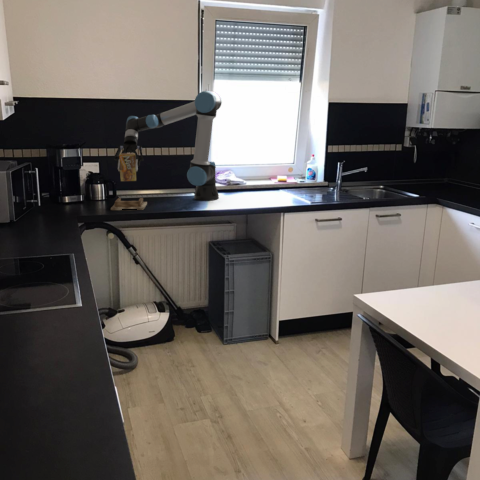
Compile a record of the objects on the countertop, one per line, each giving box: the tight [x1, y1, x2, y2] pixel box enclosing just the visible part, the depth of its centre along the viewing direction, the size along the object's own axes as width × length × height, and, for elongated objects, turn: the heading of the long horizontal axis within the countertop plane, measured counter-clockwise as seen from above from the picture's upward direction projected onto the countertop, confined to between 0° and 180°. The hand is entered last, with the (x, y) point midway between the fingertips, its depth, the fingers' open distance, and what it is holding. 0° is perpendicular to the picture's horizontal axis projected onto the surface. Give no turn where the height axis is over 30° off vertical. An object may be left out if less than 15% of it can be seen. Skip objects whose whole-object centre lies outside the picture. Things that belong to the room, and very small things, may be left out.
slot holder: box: [110, 197, 148, 211], centre depth 306 cm, size 18×18×4 cm
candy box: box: [119, 153, 137, 182], centre depth 302 cm, size 9×4×15 cm, turn 102°
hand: (127, 169), depth 301 cm, fingers closed on candy box, 9 cm apart
